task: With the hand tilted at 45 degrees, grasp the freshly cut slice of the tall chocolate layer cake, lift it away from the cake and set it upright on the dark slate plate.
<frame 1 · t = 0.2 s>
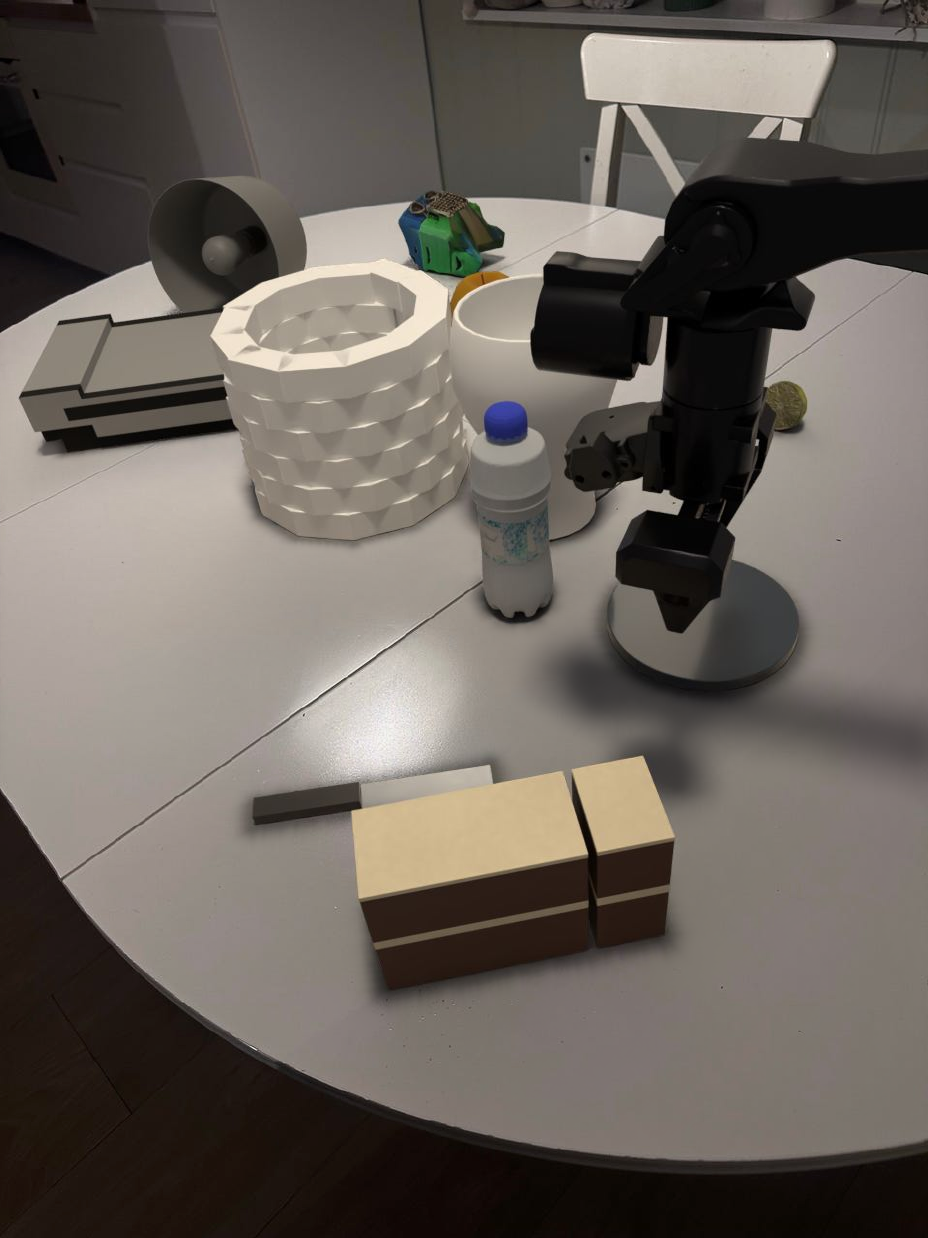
hand: (691, 587, 64), 13 cm above the table, tool pointing down, fingers open, 9 cm apart
cake slice: (617, 900, 61), on the table
light fixture: (255, 293, 143), on the table
sculpture: (458, 267, 143), on the table
bottle: (519, 602, 84), on the table
plate: (700, 623, 80), on the table
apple: (491, 363, 119), on the table
lime: (780, 425, 102), on the table
game console: (189, 399, 119), on the table
cake knife: (427, 789, 69), on the table
cake: (481, 928, 61), on the table
white vase: (541, 509, 94), on the table
basket: (366, 473, 102), on the table
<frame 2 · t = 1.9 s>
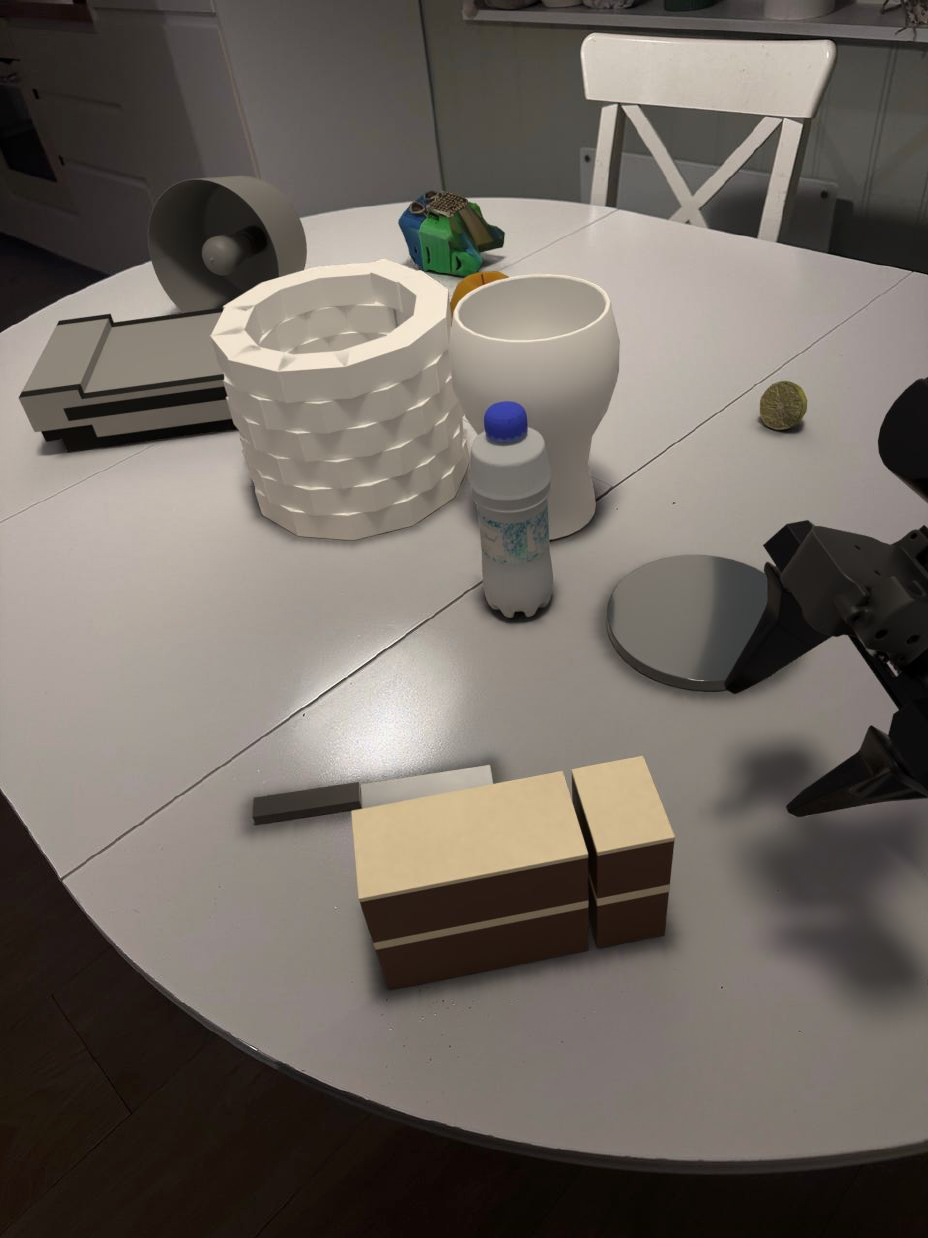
hand: (757, 747, 53), 13 cm above the table, tool tilted 45°, fingers open, 9 cm apart
nothing on the table moved.
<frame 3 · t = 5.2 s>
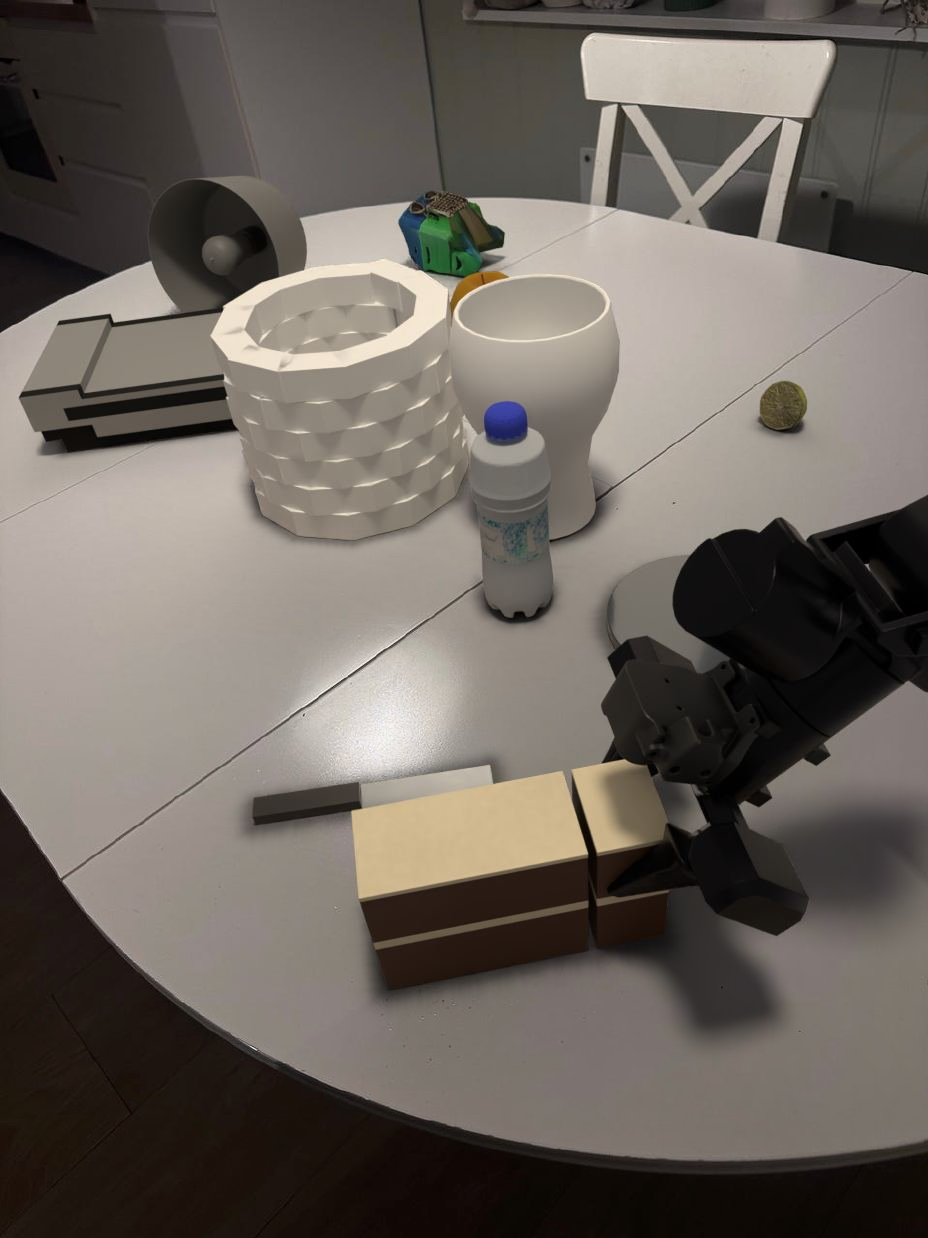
hand: (597, 848, 57), 7 cm above the table, tool tilted 45°, fingers closed on cake slice, 6 cm apart
cake slice: (617, 901, 61), on the table, touching gripper
everything else where it was.
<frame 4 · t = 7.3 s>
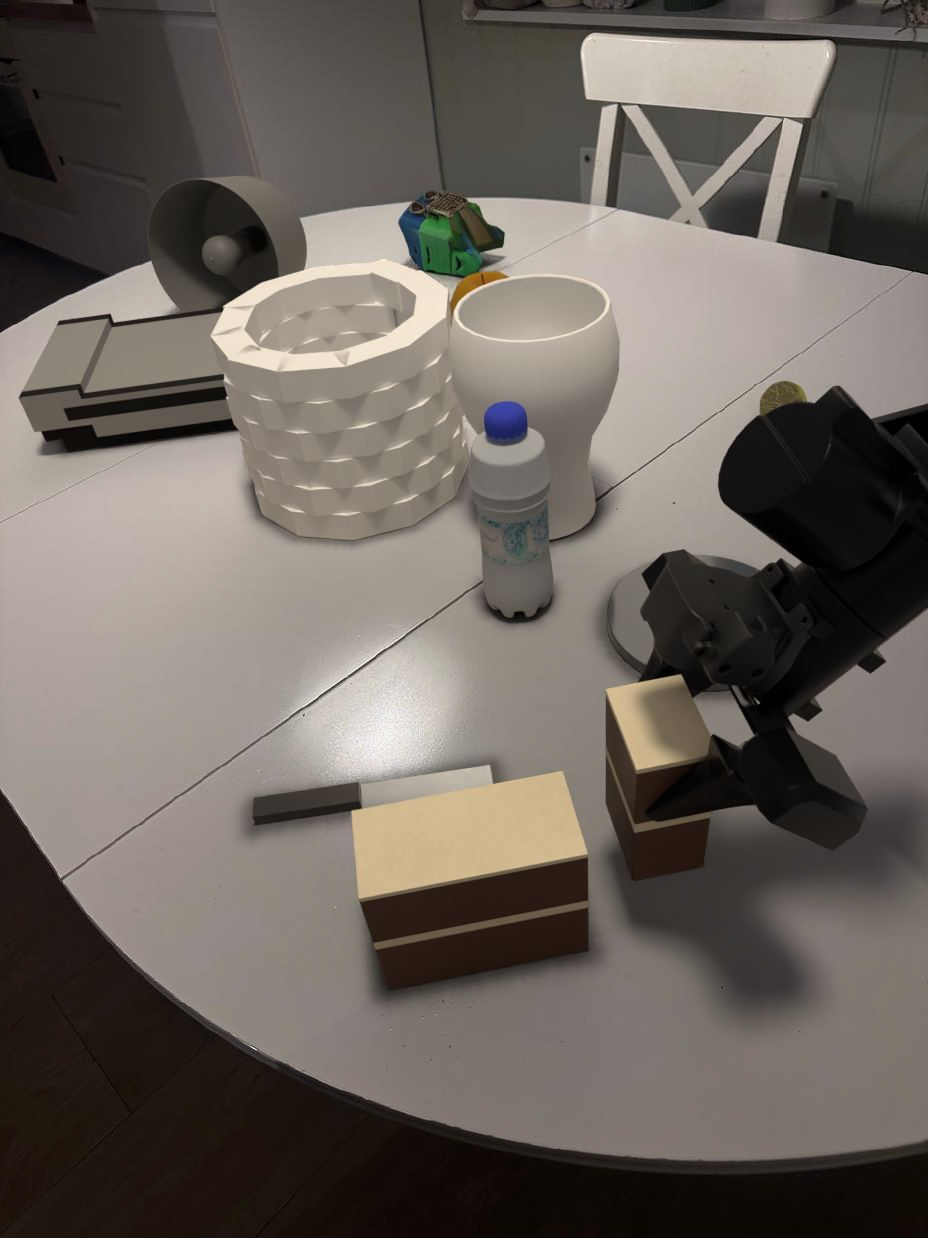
hand: (633, 773, 54), 12 cm above the table, tool tilted 45°, fingers closed on cake slice, 6 cm apart
cake slice: (652, 834, 58), point 6 cm above the table, touching gripper
everything else where it was.
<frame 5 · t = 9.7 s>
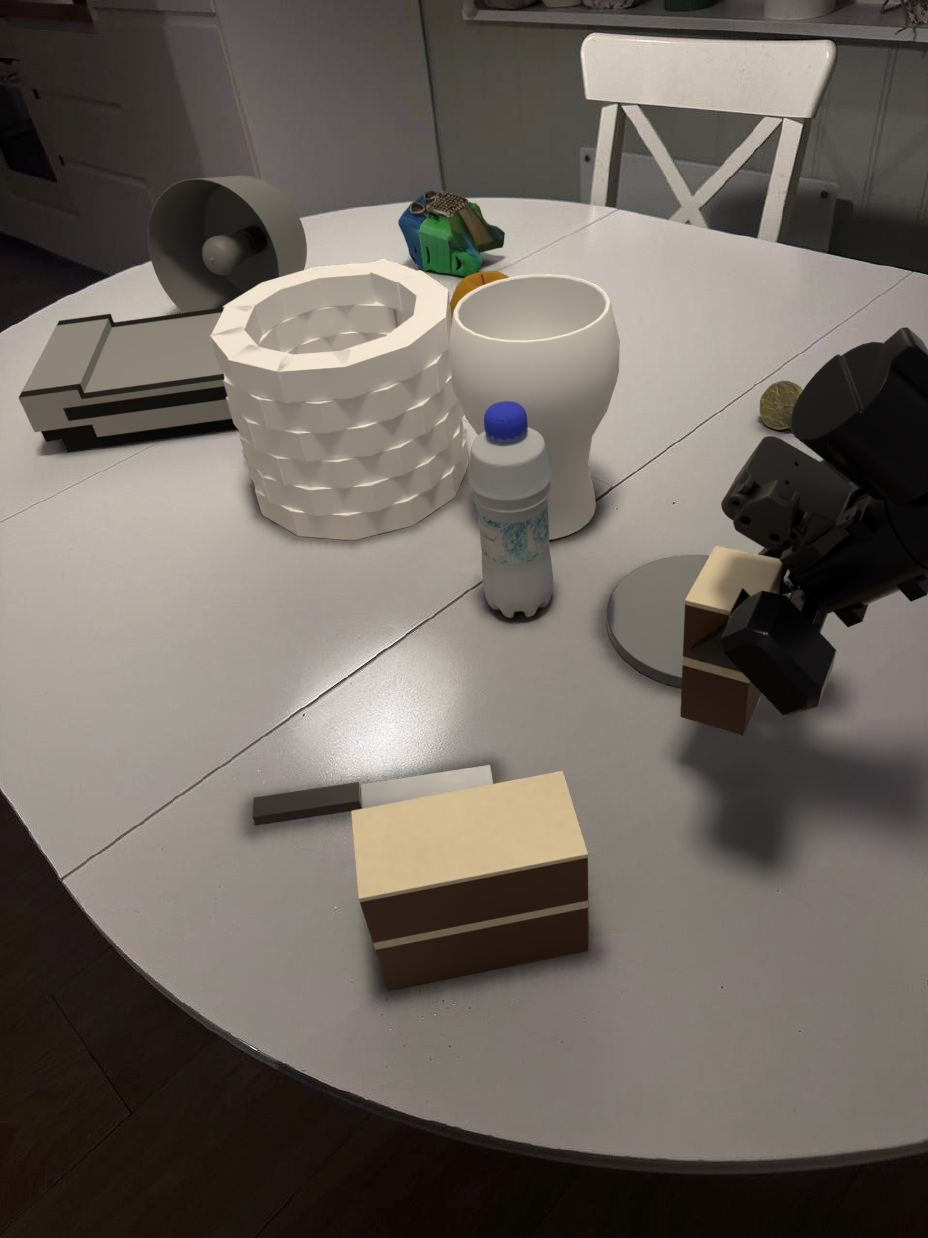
hand: (710, 624, 62), 12 cm above the table, tool tilted 45°, fingers closed on cake slice, 6 cm apart
cake slice: (724, 697, 66), point 6 cm above the table, touching gripper
everything else where it was.
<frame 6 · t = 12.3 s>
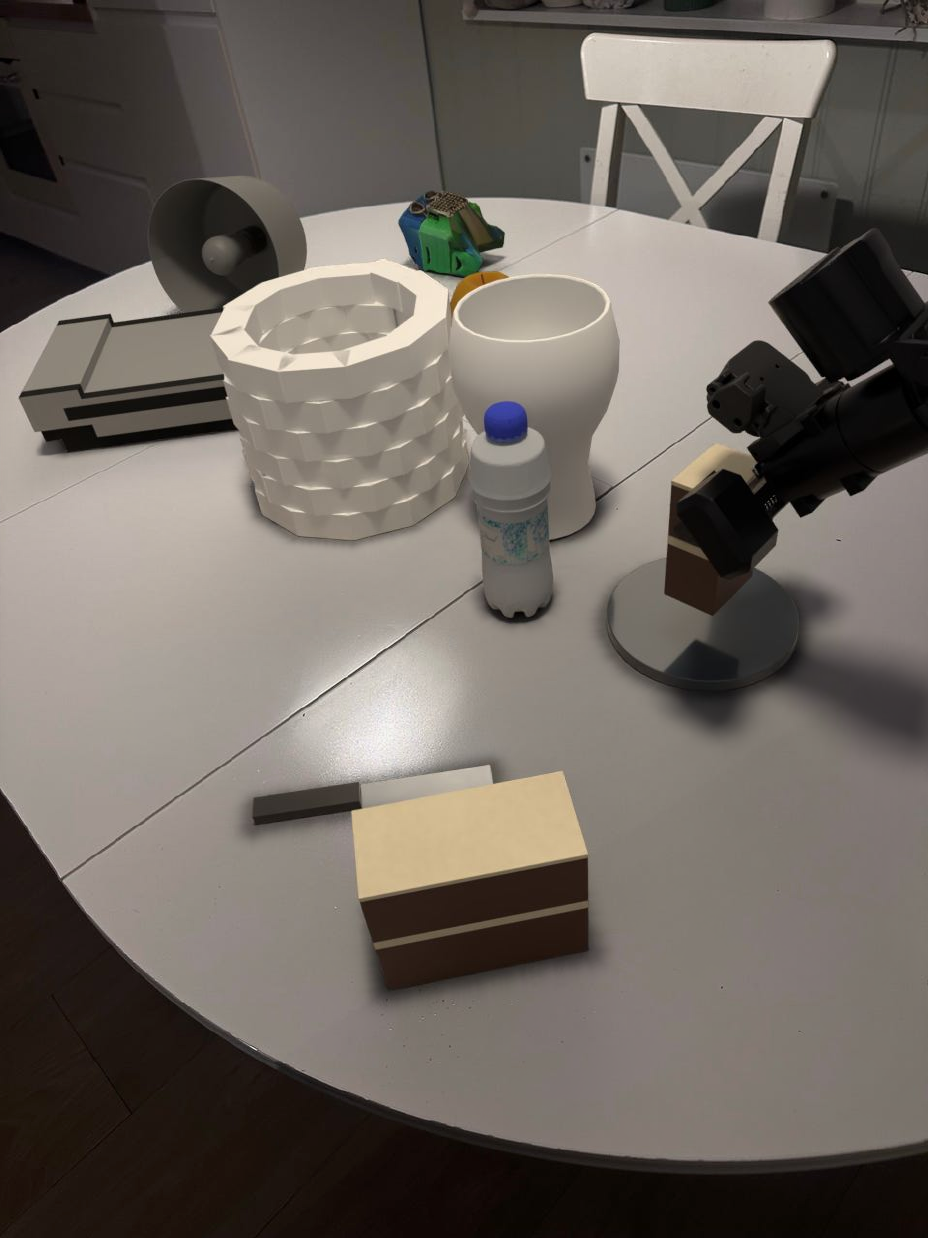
hand: (699, 513, 71), 13 cm above the table, tool tilted 45°, fingers closed on cake slice, 6 cm apart
cake slice: (708, 585, 74), point 6 cm above the table, touching gripper
everything else where it was.
when the fingers open (8 cm above the table, at t = 14.4 s): cake slice stays where it is, resting on plate.
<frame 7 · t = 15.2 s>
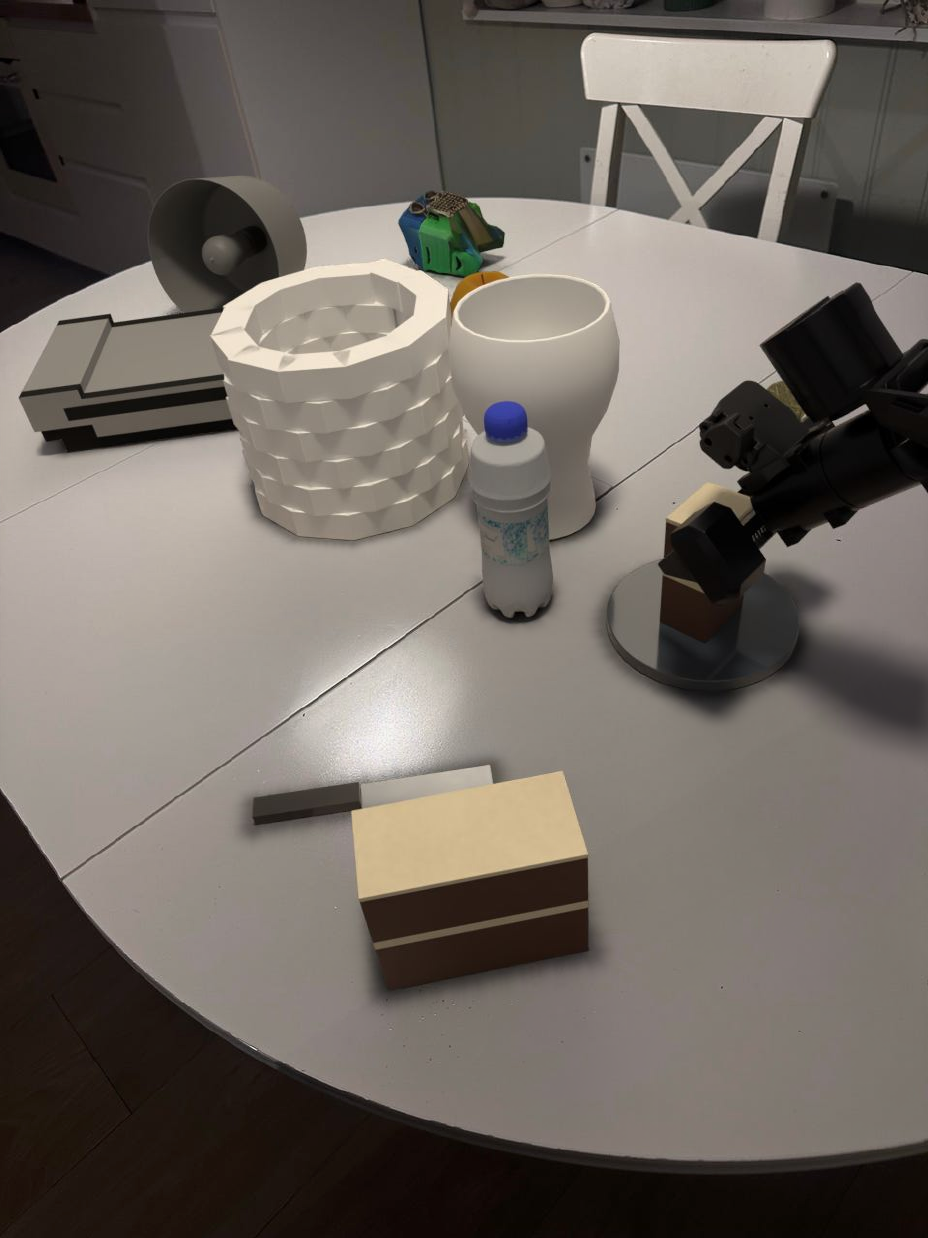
hand: (694, 538, 75), 9 cm above the table, tool tilted 45°, fingers open, 9 cm apart
cake slice: (701, 613, 79), point 1 cm above the table, touching plate
everything else where it was.
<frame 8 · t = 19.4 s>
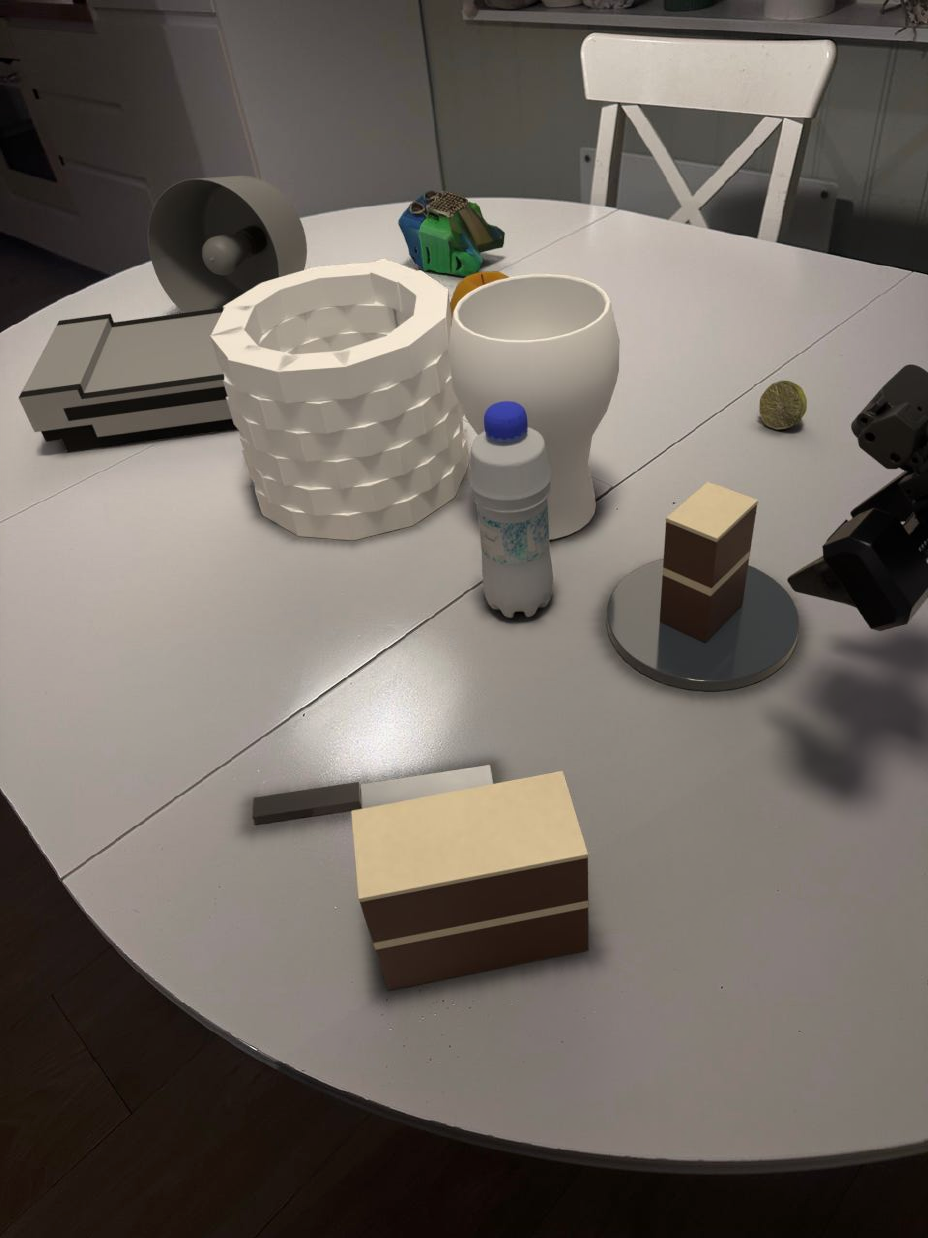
hand: (823, 549, 65), 14 cm above the table, tool tilted 45°, fingers open, 9 cm apart
nothing on the table moved.
at the end: cake slice inside the target area on the plate (0.0 cm from its centre), point 1.2 cm above the plate's base; cake slice tilted 0°; the gripper is holding nothing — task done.
